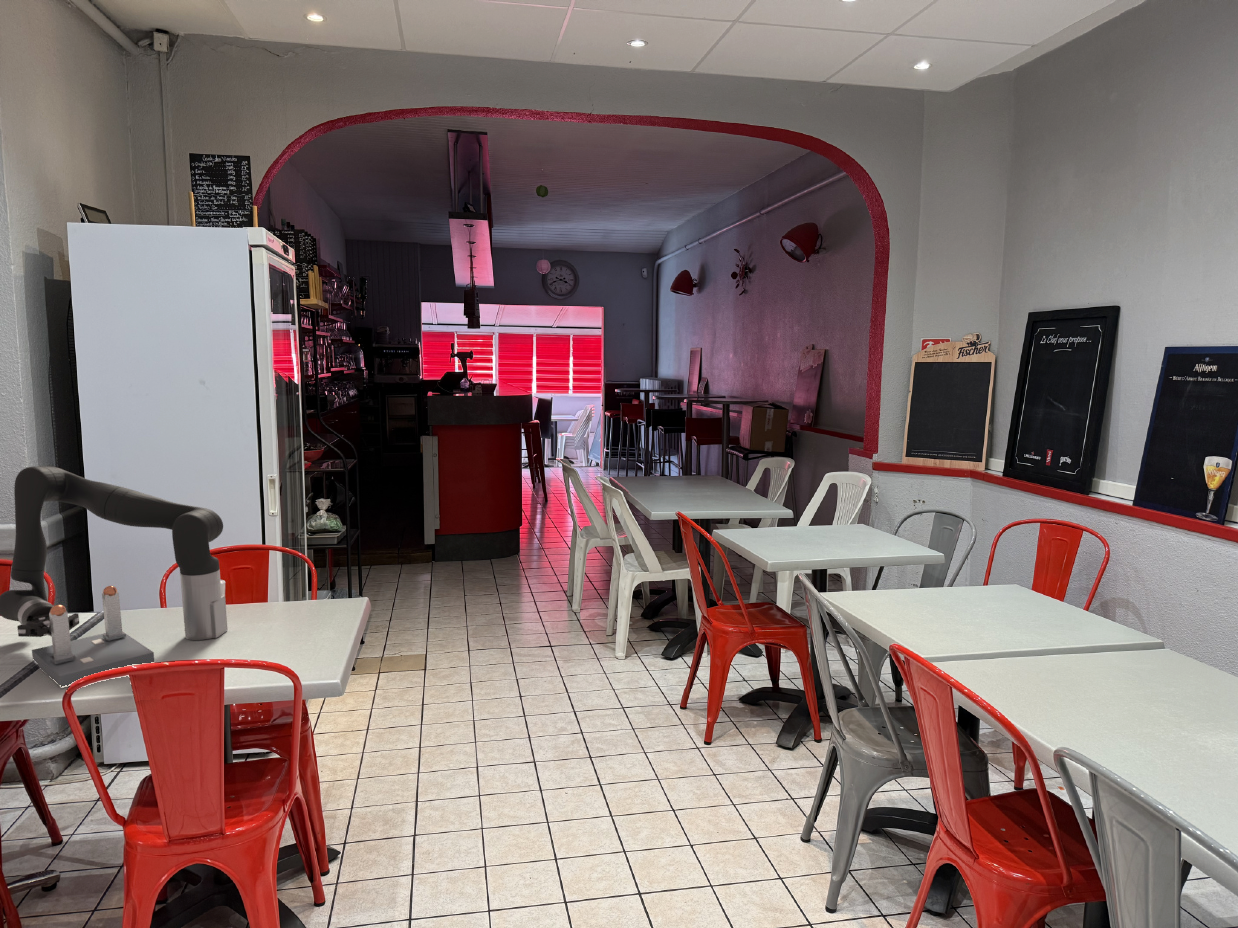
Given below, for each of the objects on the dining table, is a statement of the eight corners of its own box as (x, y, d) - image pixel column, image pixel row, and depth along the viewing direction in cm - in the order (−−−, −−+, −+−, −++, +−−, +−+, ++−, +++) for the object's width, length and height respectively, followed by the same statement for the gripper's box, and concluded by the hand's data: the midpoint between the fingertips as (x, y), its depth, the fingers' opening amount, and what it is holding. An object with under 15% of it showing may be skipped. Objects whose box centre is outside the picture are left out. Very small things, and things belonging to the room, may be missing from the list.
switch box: (33, 661, 197) (31, 649, 197) (121, 640, 211) (119, 628, 211) (61, 688, 181) (60, 674, 181) (154, 664, 195) (153, 651, 195)
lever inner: (102, 637, 204) (97, 586, 202) (120, 633, 207) (116, 582, 205) (108, 640, 202) (103, 589, 200) (126, 636, 205) (121, 585, 203)
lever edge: (50, 660, 189) (44, 605, 187) (70, 655, 192) (65, 601, 190) (55, 664, 187) (49, 608, 185) (75, 659, 190) (70, 604, 188)
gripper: (4, 608, 196) (23, 624, 184) (69, 596, 205) (90, 610, 194) (8, 638, 197) (26, 656, 185) (72, 624, 206) (93, 640, 195)
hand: (59, 632), depth 189 cm, fingers closed
